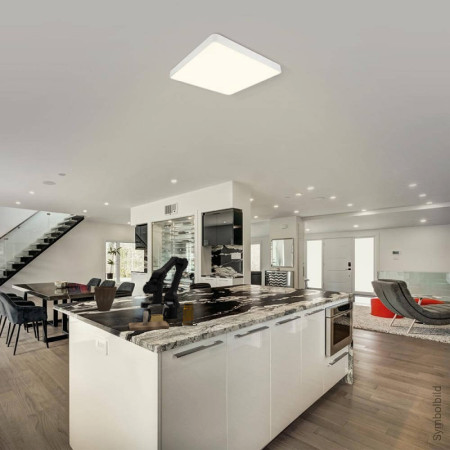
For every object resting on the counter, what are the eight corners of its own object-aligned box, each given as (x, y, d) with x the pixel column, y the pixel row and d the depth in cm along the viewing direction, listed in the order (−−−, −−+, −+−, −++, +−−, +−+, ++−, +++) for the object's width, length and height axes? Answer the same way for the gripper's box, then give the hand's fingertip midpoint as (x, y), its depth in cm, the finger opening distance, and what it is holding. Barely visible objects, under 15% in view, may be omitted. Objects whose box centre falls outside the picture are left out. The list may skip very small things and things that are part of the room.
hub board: (165, 323, 170) (165, 308, 171) (169, 328, 159) (169, 312, 160) (128, 325, 163) (129, 309, 164) (130, 330, 152) (131, 313, 153)
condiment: (182, 323, 173) (183, 302, 175) (196, 323, 174) (197, 302, 176) (181, 325, 166) (182, 304, 168) (196, 326, 167) (197, 304, 168)
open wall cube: (161, 320, 180) (161, 314, 180) (162, 322, 173) (163, 316, 174) (149, 320, 177) (150, 314, 178) (151, 323, 171) (151, 316, 171)
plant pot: (93, 308, 210) (95, 285, 212) (116, 308, 215) (117, 285, 217) (91, 312, 196) (92, 288, 198) (115, 312, 201) (116, 288, 202)
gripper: (170, 290, 188) (169, 316, 186) (140, 291, 181) (138, 317, 180) (174, 292, 178) (173, 319, 176) (142, 293, 171) (140, 321, 169)
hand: (156, 319), depth 175 cm, fingers closed on open wall cube, 7 cm apart
